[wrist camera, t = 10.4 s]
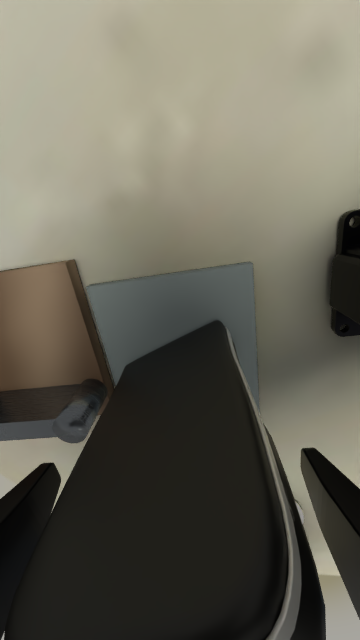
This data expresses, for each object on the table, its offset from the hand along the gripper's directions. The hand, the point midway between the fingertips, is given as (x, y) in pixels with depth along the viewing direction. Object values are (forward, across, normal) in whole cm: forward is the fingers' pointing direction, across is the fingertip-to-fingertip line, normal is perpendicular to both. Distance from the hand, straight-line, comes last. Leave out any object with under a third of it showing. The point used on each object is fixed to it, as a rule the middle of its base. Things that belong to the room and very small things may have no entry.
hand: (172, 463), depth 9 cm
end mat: (+7, 0, 0) cm, 7 cm away
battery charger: (+7, 0, 0) cm, 7 cm away
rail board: (+7, +10, -2) cm, 13 cm away
